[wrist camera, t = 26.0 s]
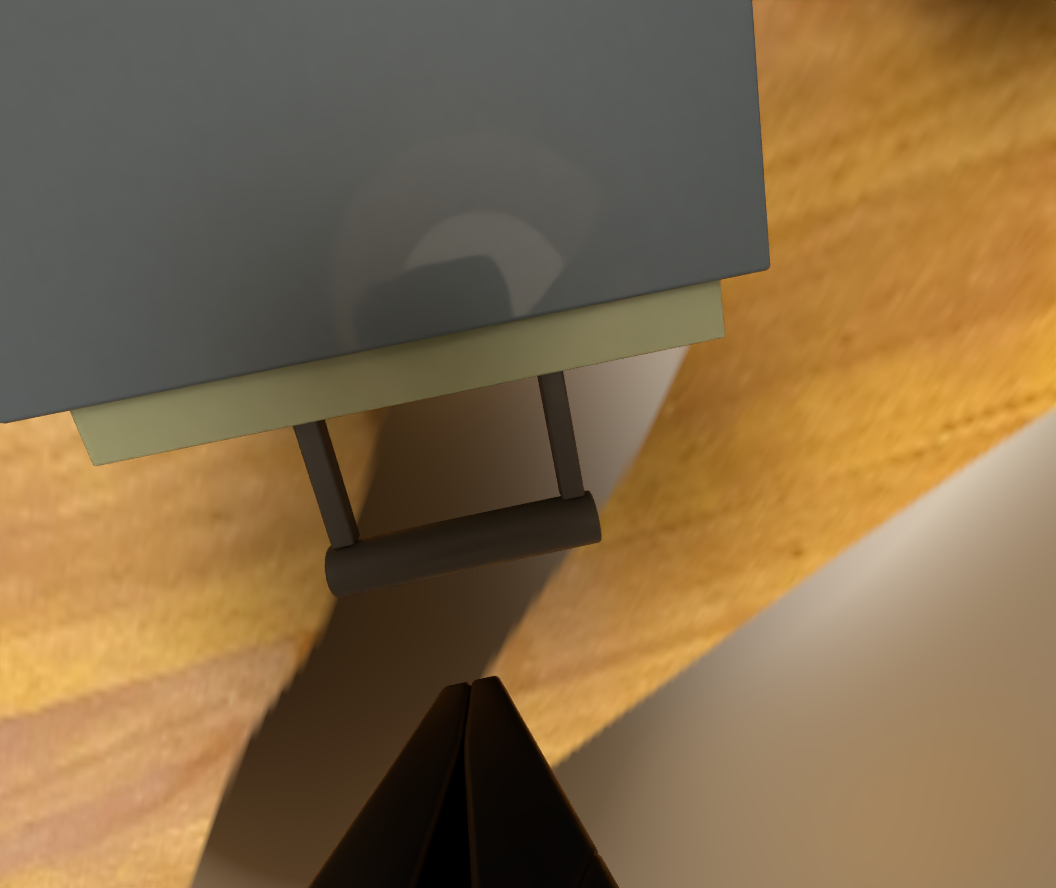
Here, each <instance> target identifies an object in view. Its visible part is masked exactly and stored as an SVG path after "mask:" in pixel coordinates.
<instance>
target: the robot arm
mask: <svg viewBox="0 0 1056 888" xmlns="http://www.w3.org/2000/svg"><path fill="white" fill-rule="evenodd" d="M307 888H619V887H618V885H617V883H616V882H615V880H614V878H613V876H612V875H611V873H610V871H609V869H608V867H607V866H606V864H605V862H604V861H603V859H602V857H601V856H600V855H598V851H597V849H596V847H595V845H594V844H593V842H592V840H591V838H590V837H589V835H588V833H587V832H586V829H585V828H584V826H583V824H582V823H581V821H580V819H579V817H578V816H577V814H576V812H575V810H574V808H573V807H572V805H571V803H570V801H569V799H568V798H567V796H566V794H565V792H564V791H563V789H562V787H561V785H560V784H559V782H558V780H557V779H556V777H555V775H554V773H553V771H552V770H551V768H550V766H549V764H548V762H547V761H546V759H545V757H544V755H543V754H542V752H541V750H540V748H539V747H538V745H537V743H536V741H535V740H534V738H533V736H532V734H531V732H530V731H529V729H528V727H527V725H526V724H525V722H524V720H523V718H522V717H521V715H520V713H519V711H518V710H517V708H516V706H515V704H514V703H513V701H512V699H511V697H510V695H509V694H508V692H507V690H506V688H505V687H504V685H503V683H502V681H501V680H500V678H499V677H498V676H491V677H487V678H482V679H478V680H475V681H474V682H473V683H472V685H471V684H470V683H469V682H464V683H459V684H455V685H450V686H447V687H445V688H444V689H443V690H442V691H441V692H440V694H439V695H438V697H437V698H436V700H435V701H434V703H433V704H432V705H431V707H430V708H429V710H428V711H427V713H426V714H425V716H424V717H423V719H422V720H421V722H420V723H419V724H418V726H417V728H416V729H415V730H414V732H413V734H412V735H411V736H410V738H409V739H408V741H407V742H406V744H405V745H404V747H403V748H402V749H401V751H400V752H399V754H398V755H397V757H396V758H395V760H394V761H393V763H392V764H391V765H390V767H389V768H388V770H387V771H386V773H385V775H384V776H383V777H382V779H381V780H380V782H379V783H378V785H377V786H376V788H375V789H374V791H373V792H372V793H371V795H370V796H369V798H368V799H367V801H366V802H365V804H364V805H363V807H362V808H361V810H360V811H359V813H358V814H357V815H356V817H355V818H354V820H353V821H352V823H351V824H350V826H349V827H348V828H347V830H346V831H345V833H344V834H343V836H342V837H341V839H340V840H339V842H338V843H337V845H336V846H335V848H334V849H333V850H332V852H331V854H330V855H329V856H328V858H327V859H326V861H325V862H324V864H323V865H322V867H321V868H320V869H319V871H318V872H317V874H316V876H315V877H314V879H313V880H312V881H311V883H310V884H309V886H308V887H307Z"/></svg>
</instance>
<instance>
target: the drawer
mask: <svg viewBox="0 0 1056 888" xmlns="http://www.w3.org/2000/svg"><path fill="white" fill-rule="evenodd" d="M724 337H725V329H724V318H723V307H722V297H721V286H720V280H716V281H711V282H706V283H701V284H696V285H691V286H686V287H681V288H676V289H671V290H666V291H661V292H656V293H651V294H646V295H641V296H636V297H631V298H626V299H621V300H616V301H611V302H606V303H601V304H596V305H591V306H586V307H582V308H577V309H572V310H567V311H562V312H557V313H552V314H547V315H542V316H537V317H532V318H527V319H522V320H517V321H512V322H507V323H502V324H497V325H492V326H487V327H482V328H477V329H472V330H467V331H462V332H457V333H452V334H447V335H442V336H437V337H432V338H427V339H422V340H417V341H412V342H408V343H403V344H398V345H393V346H388V347H383V348H378V349H373V350H368V351H363V352H358V353H353V354H348V355H343V356H338V357H333V358H328V359H323V360H318V361H313V362H308V363H303V364H298V365H293V366H288V367H283V368H278V369H273V370H268V371H263V372H258V373H253V374H248V375H243V376H239V377H234V378H229V379H224V380H219V381H214V382H209V383H204V384H199V385H194V386H189V387H184V388H179V389H174V390H169V391H164V392H159V393H154V394H149V395H144V396H139V397H134V398H129V399H124V400H119V401H114V402H109V403H104V404H99V405H94V406H89V407H84V408H79V409H74V410H70V412H71V415H72V417H73V419H74V422H75V424H76V426H77V429H78V431H79V433H80V436H81V438H82V440H83V442H84V445H85V447H86V449H87V452H88V454H89V456H90V459H91V461H92V463H93V465H94V466H99V465H104V464H109V463H114V462H119V461H124V460H129V459H134V458H139V457H143V456H148V455H153V454H158V453H163V452H168V451H173V450H178V449H183V448H187V447H192V446H197V445H202V444H207V443H212V442H217V441H222V440H227V439H231V438H236V437H241V436H246V435H251V434H256V433H261V432H266V431H271V430H275V429H280V428H285V427H290V426H293V428H294V431H295V434H296V437H297V440H298V443H299V446H300V449H301V453H302V456H303V459H304V462H305V465H306V468H307V471H308V474H309V478H310V481H311V484H312V487H313V490H314V493H315V496H316V499H317V502H318V506H319V509H320V512H321V515H322V518H323V521H324V524H325V527H326V531H327V534H328V537H329V540H330V543H331V546H330V547H329V548H328V549H327V552H326V556H325V575H326V580H327V583H328V586H329V589H330V591H331V592H332V594H333V595H334V596H335V597H337V598H343V597H347V596H352V595H357V594H361V593H366V592H371V591H375V590H380V589H384V588H389V587H394V586H399V585H403V584H407V583H413V582H417V581H421V580H426V579H431V578H436V577H440V576H445V575H449V574H454V573H458V572H464V571H468V570H473V569H478V568H482V567H487V566H491V565H496V564H501V563H505V562H510V561H515V560H519V559H524V558H528V557H534V556H538V555H543V554H547V553H552V552H557V551H562V550H566V549H571V548H575V547H580V546H585V545H589V544H594V543H599V542H600V541H601V527H600V521H599V517H598V512H597V509H596V505H595V502H594V499H593V496H592V494H591V493H590V491H584V488H583V483H582V476H581V471H580V465H579V459H578V454H577V448H576V442H575V436H574V431H573V425H572V419H571V414H570V408H569V402H568V398H567V391H566V385H565V380H564V375H563V371H564V370H568V369H574V368H578V367H583V366H588V365H593V364H598V363H603V362H608V361H613V360H618V359H623V358H627V357H632V356H637V355H642V354H647V353H652V352H657V351H662V350H667V349H671V348H676V347H681V346H686V345H691V344H696V343H701V342H706V341H711V340H715V339H720V338H724ZM535 376H537V377H538V382H539V387H540V392H541V397H542V403H543V408H544V413H545V419H546V424H547V429H548V434H549V440H550V445H551V450H552V455H553V461H554V466H555V471H556V477H557V482H558V487H559V492H560V494H561V496H559V497H554V498H549V499H545V500H540V501H535V502H530V503H526V504H521V505H516V506H512V507H507V508H502V509H497V510H493V511H488V512H483V513H479V514H474V515H469V516H464V517H460V518H455V519H450V520H446V521H441V522H436V523H432V524H427V525H422V526H417V527H412V528H408V529H403V530H398V531H393V532H389V533H384V534H379V535H375V536H370V537H365V538H360V539H358V538H359V535H360V534H359V531H358V528H357V525H356V521H355V518H354V515H353V511H352V508H351V505H350V502H349V498H348V495H347V492H346V488H345V485H344V482H343V478H342V475H341V472H340V469H339V465H338V462H337V459H336V455H335V452H334V449H333V445H332V442H331V439H330V436H329V432H328V429H327V426H326V422H325V419H329V418H334V417H339V416H344V415H349V414H354V413H359V412H363V411H368V410H373V409H378V408H383V407H388V406H393V405H398V404H403V403H407V402H412V401H417V400H422V399H427V398H432V397H436V396H442V395H446V394H451V393H456V392H461V391H466V390H471V389H475V388H480V387H486V386H491V385H495V384H500V383H505V382H510V381H515V380H520V379H525V378H530V377H535Z"/></svg>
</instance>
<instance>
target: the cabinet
mask: <svg viewBox="0 0 1056 888" xmlns="http://www.w3.org/2000/svg"><path fill="white" fill-rule="evenodd" d="M769 268H770V257H769V242H768V227H767V213H766V198H765V183H764V169H763V154H762V139H761V125H760V110H759V95H758V81H757V66H756V51H755V37H754V22H753V7H752V0H0V423H10V422H15V421H20V420H25V419H30V418H35V417H40V416H45V415H50V414H55V413H60V412H65V411H70V410H74V409H79V408H84V407H89V406H94V405H99V404H104V403H109V402H114V401H119V400H124V399H129V398H134V397H139V396H144V395H149V394H154V393H159V392H164V391H169V390H174V389H179V388H184V387H189V386H194V385H199V384H204V383H209V382H214V381H219V380H224V379H229V378H234V377H239V376H243V375H248V374H253V373H258V372H263V371H268V370H273V369H278V368H283V367H288V366H293V365H298V364H303V363H308V362H313V361H318V360H323V359H328V358H333V357H338V356H343V355H348V354H353V353H358V352H363V351H368V350H373V349H378V348H383V347H388V346H393V345H398V344H403V343H408V342H412V341H417V340H422V339H427V338H432V337H437V336H442V335H447V334H452V333H457V332H462V331H467V330H472V329H477V328H482V327H487V326H492V325H497V324H502V323H507V322H512V321H517V320H522V319H527V318H532V317H537V316H542V315H547V314H552V313H557V312H562V311H567V310H572V309H577V308H582V307H586V306H591V305H596V304H601V303H606V302H611V301H616V300H621V299H626V298H631V297H636V296H641V295H646V294H651V293H656V292H661V291H666V290H671V289H676V288H681V287H686V286H691V285H696V284H701V283H706V282H711V281H716V280H721V279H726V278H731V277H736V276H741V275H746V274H751V273H755V272H760V271H765V270H767V269H769Z"/></svg>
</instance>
